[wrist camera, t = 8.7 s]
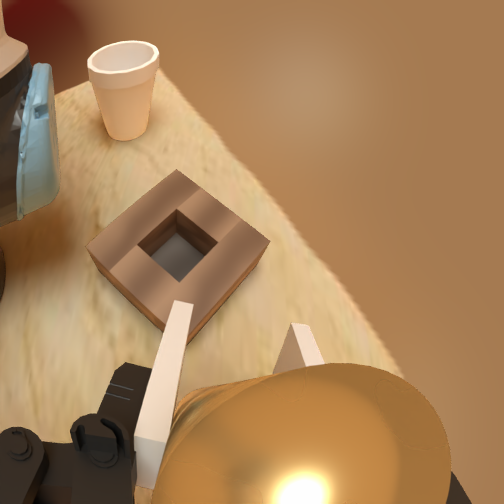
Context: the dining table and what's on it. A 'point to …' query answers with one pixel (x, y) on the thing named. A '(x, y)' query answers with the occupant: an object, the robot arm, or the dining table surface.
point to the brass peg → (306, 442)
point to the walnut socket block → (177, 252)
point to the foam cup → (124, 86)
